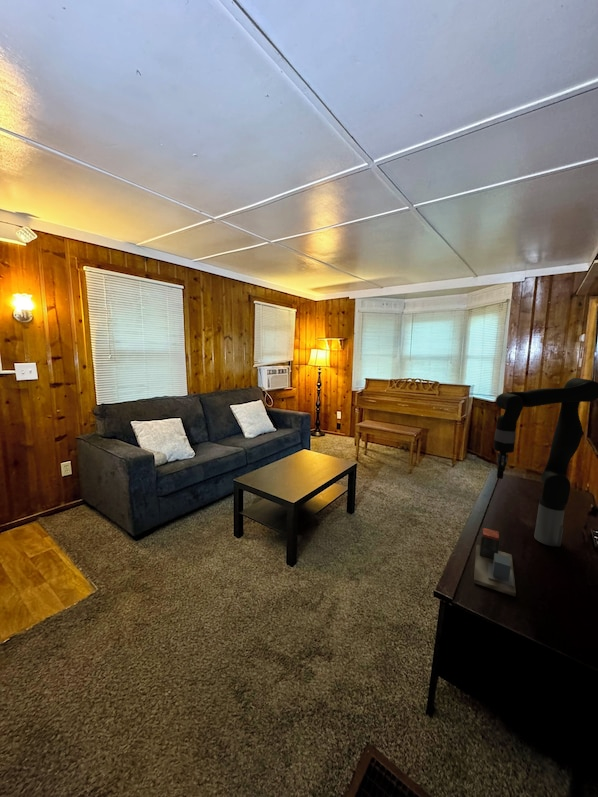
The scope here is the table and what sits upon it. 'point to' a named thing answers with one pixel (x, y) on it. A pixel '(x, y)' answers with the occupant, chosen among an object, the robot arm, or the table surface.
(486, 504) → the table surface
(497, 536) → the block
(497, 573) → the block
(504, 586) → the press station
